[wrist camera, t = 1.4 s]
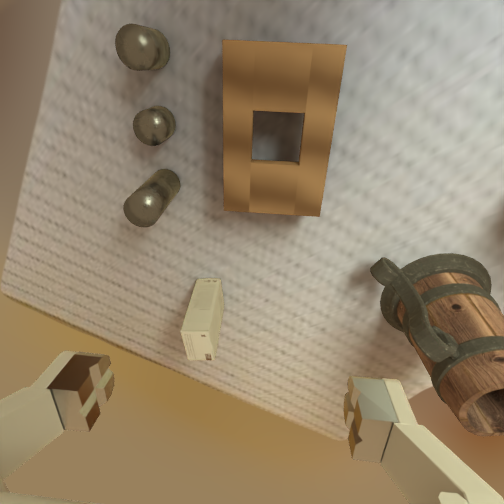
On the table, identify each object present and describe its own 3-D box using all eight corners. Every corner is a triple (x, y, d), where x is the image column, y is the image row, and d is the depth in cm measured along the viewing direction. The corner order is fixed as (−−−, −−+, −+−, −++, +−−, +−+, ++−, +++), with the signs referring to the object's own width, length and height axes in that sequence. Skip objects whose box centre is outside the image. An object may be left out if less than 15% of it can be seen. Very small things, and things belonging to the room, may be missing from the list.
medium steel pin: (133, 27, 36) (111, 23, 32) (168, 29, 36) (152, 24, 32) (138, 68, 38) (119, 69, 34) (171, 70, 38) (156, 71, 34)
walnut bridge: (230, 42, 36) (222, 39, 31) (337, 47, 36) (347, 44, 31) (229, 193, 46) (223, 210, 41) (314, 198, 45) (319, 216, 40)
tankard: (514, 291, 51) (634, 408, 34) (426, 349, 59) (487, 469, 41) (413, 207, 45) (496, 298, 28) (329, 283, 53) (354, 392, 35)
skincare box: (196, 277, 54) (176, 330, 43) (222, 277, 53) (209, 329, 43) (201, 306, 57) (184, 361, 47) (226, 306, 56) (215, 361, 46)
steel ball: (143, 105, 41) (130, 109, 37) (174, 106, 40) (164, 111, 37) (147, 138, 43) (135, 144, 39) (177, 139, 42) (168, 146, 39)
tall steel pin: (150, 168, 45) (120, 193, 36) (179, 169, 44) (156, 196, 36) (154, 195, 47) (126, 226, 38) (181, 197, 47) (159, 228, 38)
